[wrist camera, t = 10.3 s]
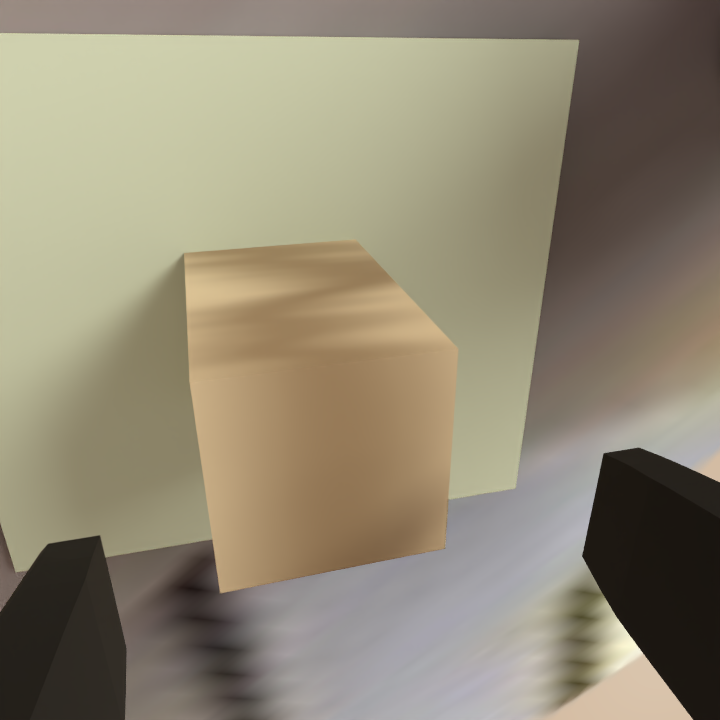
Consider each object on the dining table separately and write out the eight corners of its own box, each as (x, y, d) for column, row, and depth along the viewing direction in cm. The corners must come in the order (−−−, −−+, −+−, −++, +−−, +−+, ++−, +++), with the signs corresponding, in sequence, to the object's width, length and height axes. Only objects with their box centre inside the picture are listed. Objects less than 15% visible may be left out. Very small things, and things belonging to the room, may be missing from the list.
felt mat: (566, 40, 16) (579, 39, 16) (507, 478, 23) (515, 488, 22) (-141, 32, 13) (-154, 31, 12) (20, 558, 19) (15, 572, 18)
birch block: (355, 239, 17) (458, 348, 11) (357, 385, 19) (444, 548, 13) (183, 252, 16) (189, 382, 10) (204, 405, 18) (220, 593, 12)
